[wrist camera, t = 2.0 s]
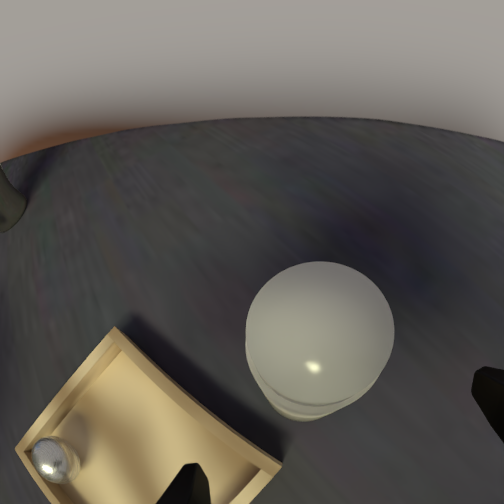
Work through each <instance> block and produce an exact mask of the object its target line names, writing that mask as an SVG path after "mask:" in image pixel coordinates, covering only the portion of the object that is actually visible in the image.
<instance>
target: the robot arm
mask: <svg viewBox="0 0 504 504" xmlns="http://www.w3.org/2000/svg"><path fill="white" fill-rule="evenodd" d="M471 392H472V396H473V397H474V399H475V401H476V402H477V404H478V405H479V407H480V409H481V410H482V412H483V414H484V415H485V417H486V419H487V420H488V422H489V423H490V425H491V427H492V428H493V429H494V431H495V432H496V433H497V435H498V436H499V437H500V439H501V440H502V441H503V443H504V370H501V369H496V368H492V367H487V366H484V367H482V368H480V369H479V370H477V371H476V372H475V373H474V378H473V383H472V388H471ZM156 504H211V497H210V487H209V481H208V478H207V476H206V474H205V473H204V471H203V469H202V468H201V466H200V464H198V463H187V464H184V465H183V466H182V468H181V469H180V471H179V472H178V473H177V475H176V476H175V478H174V479H173V480H172V482H171V483H170V485H169V486H168V487H167V489H166V490H165V491H164V493H163V494H162V496H161V497H160V498H159V500H158V501H157V502H156Z"/></svg>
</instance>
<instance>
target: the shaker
mask: <svg viewBox="0 0 504 504" xmlns="http://www.w3.org/2000/svg"><path fill="white" fill-rule="evenodd" d="M393 342H394V321H393V317H392V313H391V310H390V307H389V304H388V302H387V300H386V299H385V297H384V295H383V294H382V292H381V291H380V290H379V288H378V287H377V286H376V285H375V284H374V283H373V282H372V281H371V280H370V279H368V278H367V277H366V276H365V275H363V274H361V273H360V272H358V271H356V270H354V269H352V268H350V267H347V266H344V265H342V264H337V263H333V262H308V263H303V264H299V265H295V266H293V267H290V268H288V269H286V270H284V271H282V272H280V273H279V274H277V275H276V276H274V277H273V278H272V279H270V280H269V281H268V282H267V283H266V284H265V285H264V286H263V287H262V288H261V290H260V291H259V292H258V294H257V295H256V297H255V299H254V300H253V302H252V304H251V307H250V310H249V312H248V317H247V321H246V344H245V346H246V356H247V361H248V365H249V367H250V370H251V373H252V374H253V376H254V378H255V380H256V382H257V383H258V385H259V387H260V388H261V390H262V391H263V393H264V395H265V396H266V398H267V399H268V401H269V403H270V404H271V406H272V407H273V408H274V409H275V410H276V411H277V412H278V413H279V414H280V415H282V416H283V417H285V418H287V419H290V420H293V421H299V422H308V421H313V420H317V419H319V418H322V417H324V416H326V415H328V414H330V413H333V412H335V411H337V410H339V409H341V408H343V407H345V406H347V405H349V404H351V403H353V402H354V401H356V400H357V399H359V398H360V397H361V396H362V395H364V394H365V393H366V392H367V391H368V390H369V389H370V388H371V387H372V385H373V384H374V383H375V381H376V380H377V378H378V376H379V374H380V373H381V371H382V370H383V368H384V367H385V365H386V363H387V361H388V359H389V357H390V354H391V351H392V348H393Z"/></svg>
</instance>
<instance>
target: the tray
mask: <svg viewBox="0 0 504 504" xmlns="http://www.w3.org/2000/svg"><path fill="white" fill-rule="evenodd" d="M45 436H57V437H60V438H62V439H64V440H66V441H67V442H69V443H70V444H71V445H72V446H73V447H74V448H75V450H76V451H77V453H78V455H79V458H80V462H81V468H80V472H79V475H78V476H77V478H76V479H75V480H73V481H72V482H70V483H67V484H56V483H53V482H50V481H48V480H47V479H45V478H44V477H42V476H41V475H40V474H39V472H38V471H37V470H36V468H35V466H34V464H33V461H32V448H33V446H34V444H35V443H36V441H37V440H39V439H40V438H42V437H45ZM15 450H16V452H17V454H18V455H19V457H20V458H21V460H22V462H23V463H24V465H25V466H26V468H27V470H28V471H29V473H30V474H31V476H32V477H33V479H34V480H35V481H36V483H37V484H38V486H39V487H40V489H41V490H42V491H43V493H44V494H45V495H46V497H47V498H48V499H49V501H50V502H51V503H52V504H156V502H157V501H158V500H159V498H160V497H161V496H162V494H163V493H164V491H165V490H166V489H167V487H168V486H169V485H170V483H171V482H172V480H173V479H174V478H175V476H176V475H177V473H178V472H179V471H180V469H181V468H182V466H183V465H184V464H187V463H198V464H200V466H201V468H202V469H203V471H204V473H205V474H206V476H207V478H208V481H209V487H210V497H211V504H249V503H250V502H251V501H252V500H253V499H254V497H255V496H256V495H257V494H258V493H259V492H260V491H261V490H262V489H263V488H264V487H265V486H266V484H267V483H268V482H269V481H270V480H271V479H272V478H273V477H274V475H275V474H276V473H277V472H278V471H279V470H280V468H281V467H282V464H283V463H282V462H280V461H278V460H277V459H275V458H274V457H272V456H271V455H269V454H268V453H266V452H265V451H263V450H262V449H261V448H259V447H258V446H256V445H255V444H253V443H252V442H251V441H249V440H248V439H246V438H245V437H244V436H242V435H241V434H240V433H238V432H237V431H235V430H234V429H233V428H231V427H230V426H229V425H228V424H226V423H225V422H224V421H222V420H221V419H220V418H218V417H217V416H216V415H215V414H213V413H212V412H211V411H210V410H208V409H207V408H206V407H205V406H203V405H202V404H201V403H200V402H199V401H197V400H196V399H195V398H194V397H193V396H191V395H190V394H189V393H188V392H187V391H186V390H184V389H183V388H182V387H181V386H180V385H179V384H178V383H176V382H175V381H174V380H173V379H172V378H171V377H170V376H169V375H168V374H166V373H165V372H164V371H163V370H162V369H161V368H160V367H159V366H158V365H157V364H156V363H155V362H154V361H152V360H151V359H150V358H149V357H148V356H147V355H146V354H145V353H144V352H143V351H142V350H141V349H140V348H139V347H138V346H137V345H136V344H135V343H134V342H133V341H132V340H131V339H130V338H129V337H128V336H127V335H126V334H124V333H123V332H122V331H120V330H119V329H118V328H116V327H115V326H114V327H113V329H112V330H111V331H110V332H109V333H108V334H107V335H106V337H105V338H104V339H103V340H102V341H101V342H100V343H99V345H98V346H97V347H96V348H95V349H94V350H93V352H92V353H91V354H90V355H89V356H88V357H87V359H86V360H85V361H84V362H83V363H82V365H81V366H80V367H79V368H78V369H77V370H76V372H75V373H74V374H73V375H72V376H71V378H70V379H69V380H68V381H67V383H66V384H65V385H64V386H63V387H62V389H61V390H60V391H59V392H58V394H57V395H56V396H55V397H54V399H53V400H52V401H51V402H50V404H49V405H48V406H47V407H46V409H45V410H44V411H43V412H42V414H41V415H40V416H39V417H38V419H37V420H36V421H35V423H34V424H33V425H32V427H31V428H30V429H29V430H28V432H27V433H26V434H25V436H24V437H23V438H22V440H21V441H20V442H19V444H18V445H17V446H16V448H15Z"/></svg>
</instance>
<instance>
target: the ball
mask: <svg viewBox="0 0 504 504" xmlns="http://www.w3.org/2000/svg"><path fill="white" fill-rule="evenodd" d="M32 461H33V464H34V466H35V468H36V470H37V471H38V472H39V474H40V475H41V476H42V477H44V478H45V479H47V480H48V481H50V482H53V483H56V484H67V483H70V482H72V481H73V480H75V479H76V478H77V476H78V475H79V472H80V468H81V462H80V458H79V455H78V453H77V451H76V450H75V448H74V447H73V446H72V445H71V444H70V443H69V442H67V441H66V440H64V439H62V438H60V437H57V436H45V437H42V438H40V439H39V440H37V441H36V443H35V444H34V446H33V448H32Z"/></svg>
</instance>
